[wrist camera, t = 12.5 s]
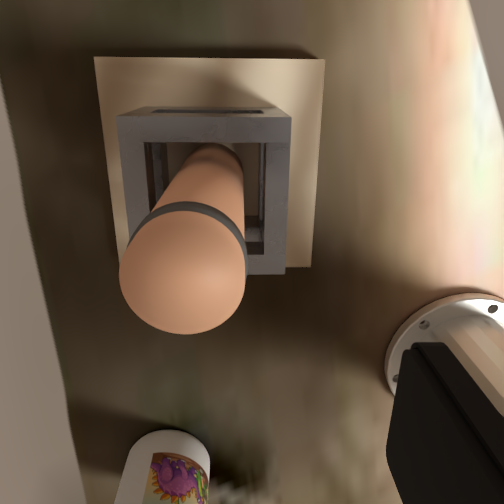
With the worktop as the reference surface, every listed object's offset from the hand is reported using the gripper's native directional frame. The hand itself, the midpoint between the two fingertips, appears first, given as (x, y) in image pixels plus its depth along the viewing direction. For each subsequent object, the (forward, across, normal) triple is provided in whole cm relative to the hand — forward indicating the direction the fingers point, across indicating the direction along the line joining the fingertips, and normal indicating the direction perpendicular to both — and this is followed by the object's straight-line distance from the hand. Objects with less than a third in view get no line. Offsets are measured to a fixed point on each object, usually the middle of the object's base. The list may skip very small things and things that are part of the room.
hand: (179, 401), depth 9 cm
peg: (+21, +1, 0) cm, 21 cm away
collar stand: (+23, +1, 0) cm, 23 cm away
